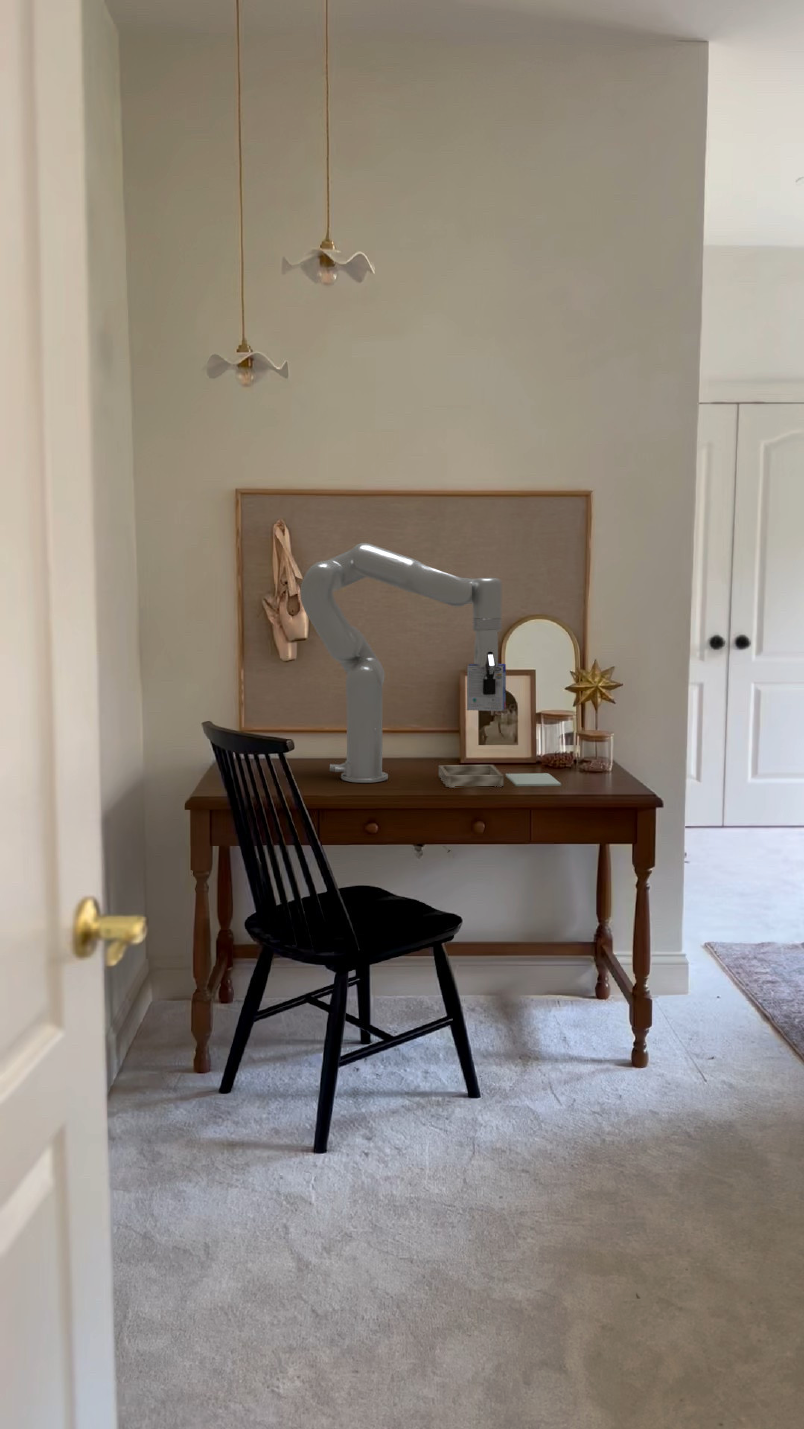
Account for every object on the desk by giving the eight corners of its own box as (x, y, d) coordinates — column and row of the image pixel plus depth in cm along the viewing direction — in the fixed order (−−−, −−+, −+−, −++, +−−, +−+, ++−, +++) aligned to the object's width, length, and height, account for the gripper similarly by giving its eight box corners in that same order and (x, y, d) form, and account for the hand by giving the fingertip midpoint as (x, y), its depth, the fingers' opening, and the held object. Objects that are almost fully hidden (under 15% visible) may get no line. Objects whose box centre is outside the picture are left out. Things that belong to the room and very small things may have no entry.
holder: (446, 787, 285) (446, 776, 285) (438, 776, 300) (438, 765, 299) (503, 786, 287) (503, 775, 286) (492, 775, 301) (492, 764, 301)
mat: (516, 786, 287) (516, 784, 287) (505, 775, 301) (505, 773, 301) (560, 785, 289) (560, 783, 289) (548, 775, 302) (548, 773, 302)
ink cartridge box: (506, 708, 293) (506, 654, 290) (504, 711, 287) (504, 656, 285) (469, 708, 295) (469, 654, 292) (466, 711, 289) (466, 656, 287)
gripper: (467, 623, 296) (467, 689, 298) (478, 627, 279) (478, 697, 281) (495, 623, 297) (494, 688, 299) (507, 626, 280) (507, 696, 282)
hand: (486, 692), depth 290 cm, fingers closed on ink cartridge box, 6 cm apart
